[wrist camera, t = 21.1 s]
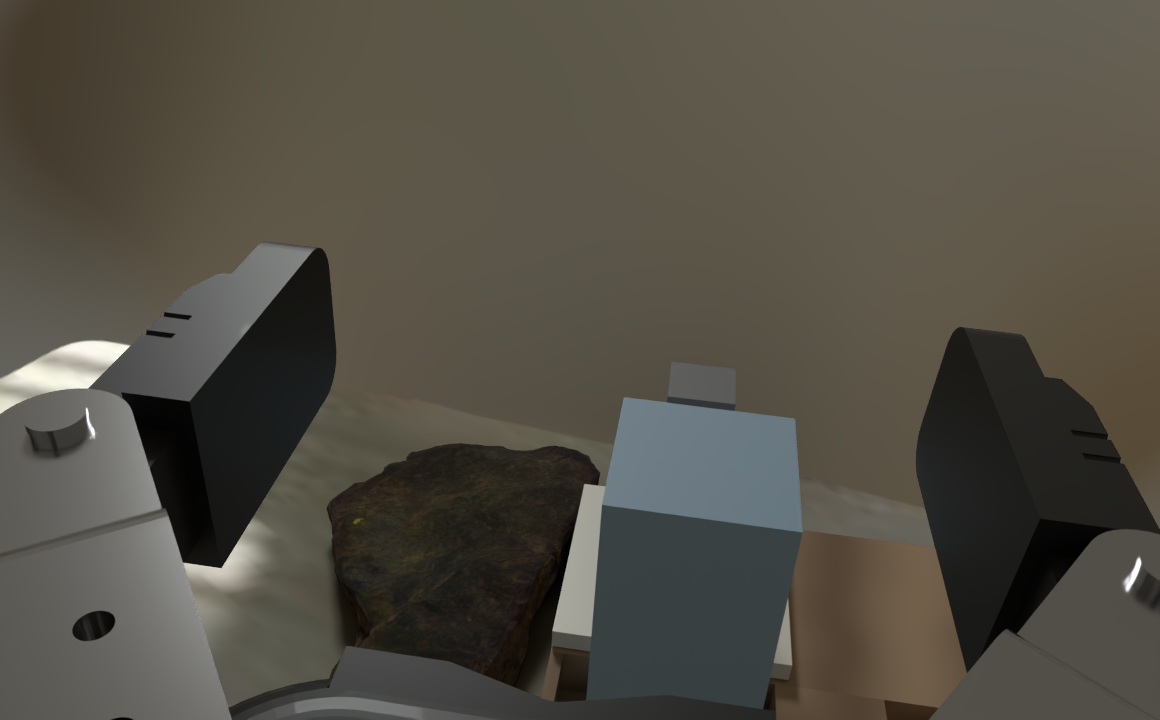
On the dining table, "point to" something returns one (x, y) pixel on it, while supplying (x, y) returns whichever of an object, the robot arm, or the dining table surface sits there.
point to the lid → (580, 575)
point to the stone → (458, 550)
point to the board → (846, 636)
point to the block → (694, 554)
